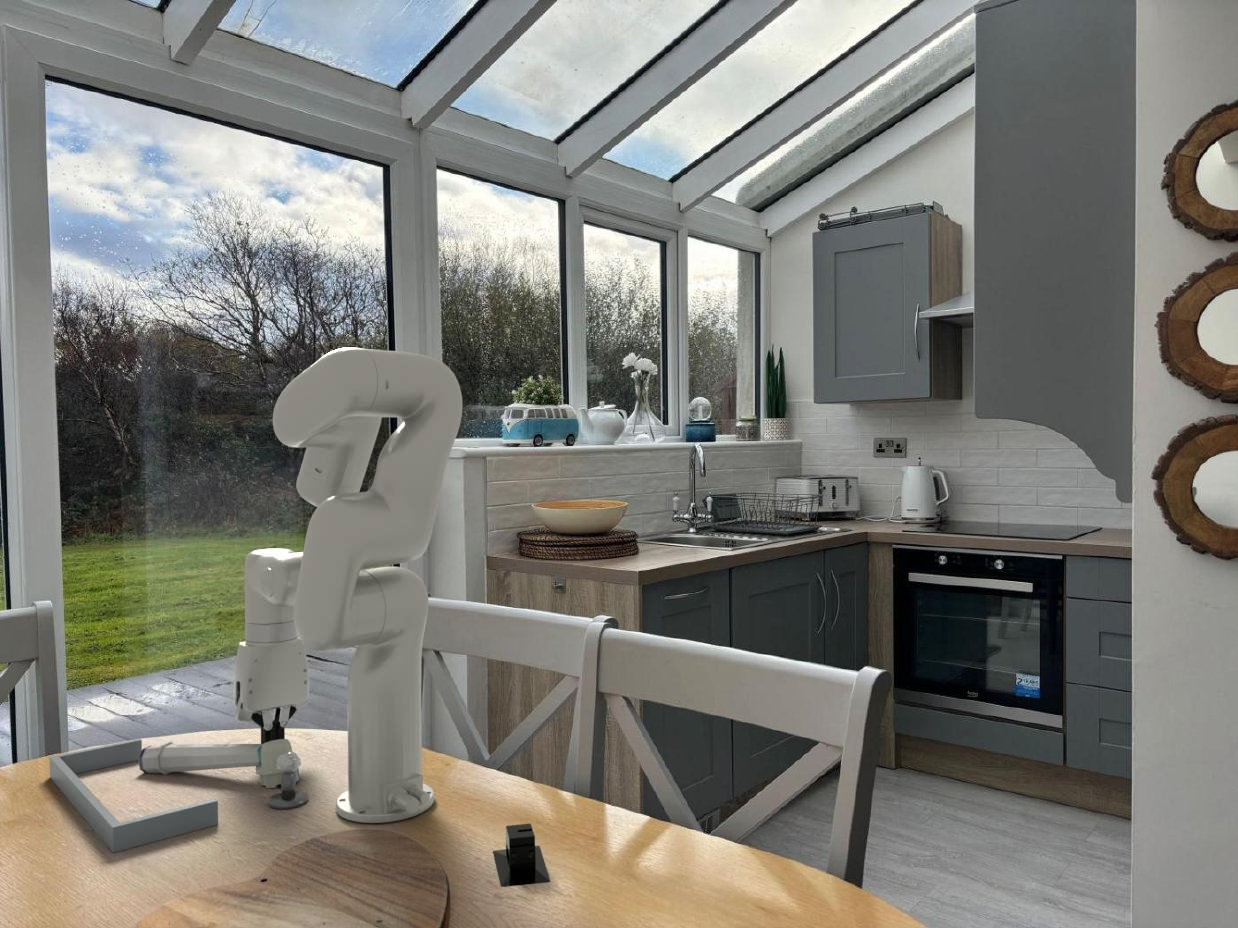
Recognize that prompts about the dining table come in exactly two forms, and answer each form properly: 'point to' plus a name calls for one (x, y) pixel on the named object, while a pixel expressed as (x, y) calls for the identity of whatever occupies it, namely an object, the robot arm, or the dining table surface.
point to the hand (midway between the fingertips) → (272, 752)
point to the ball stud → (288, 784)
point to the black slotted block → (520, 858)
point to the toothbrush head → (217, 758)
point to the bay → (103, 819)
